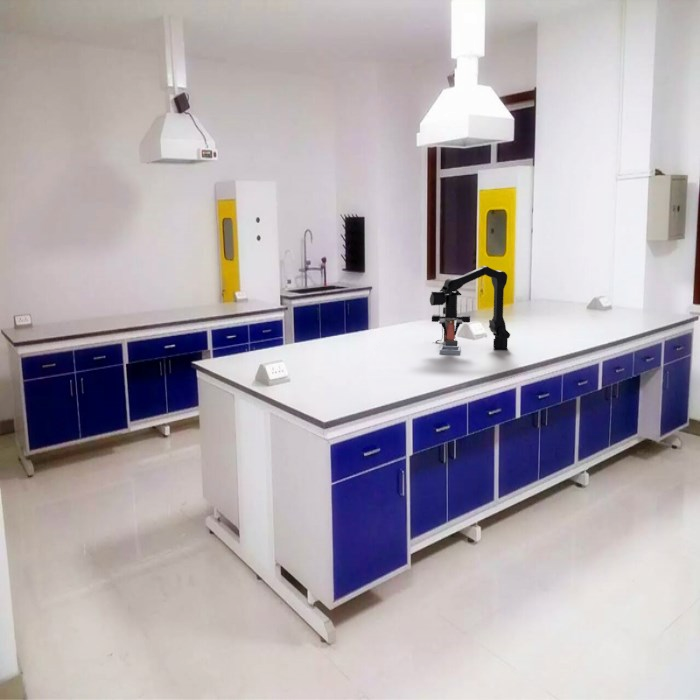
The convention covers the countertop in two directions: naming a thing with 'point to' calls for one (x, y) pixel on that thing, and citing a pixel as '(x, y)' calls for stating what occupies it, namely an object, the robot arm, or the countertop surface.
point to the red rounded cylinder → (450, 331)
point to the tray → (450, 350)
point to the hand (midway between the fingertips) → (450, 335)
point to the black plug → (450, 343)
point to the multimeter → (444, 331)
